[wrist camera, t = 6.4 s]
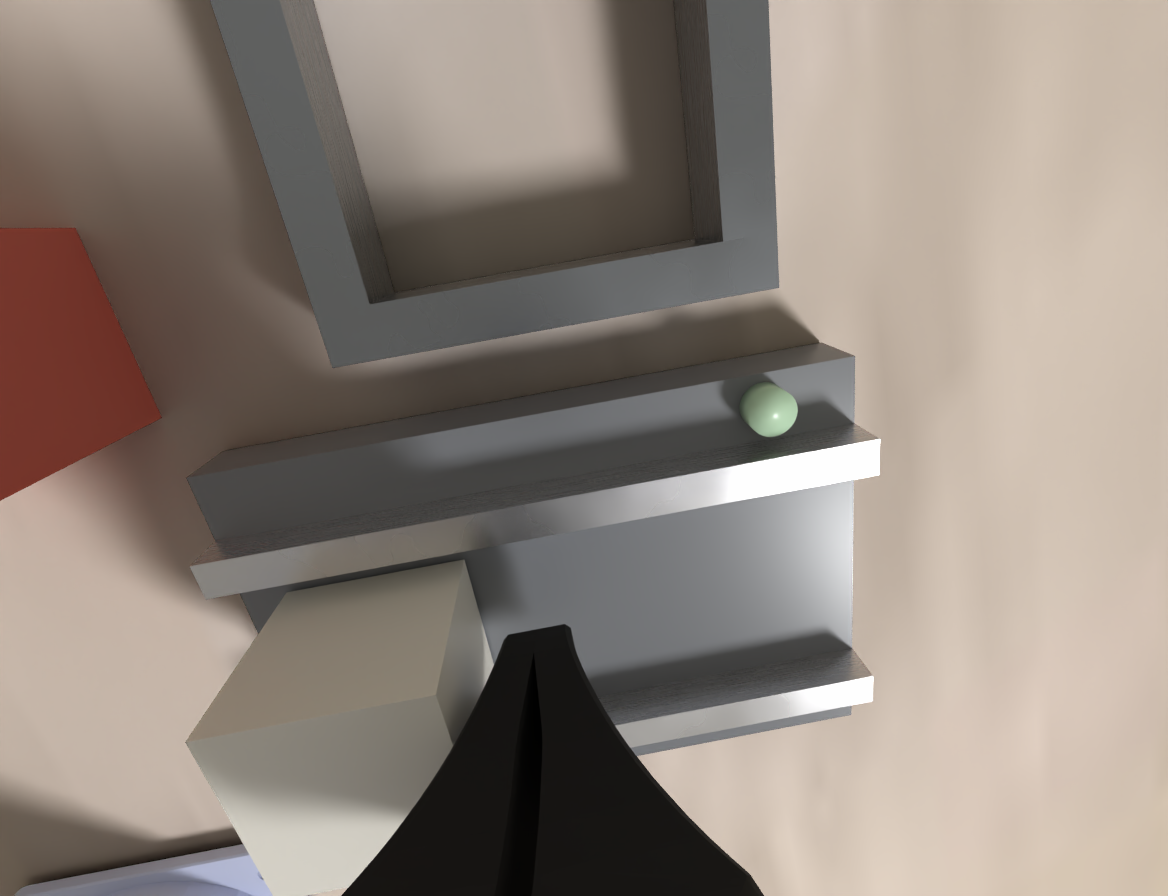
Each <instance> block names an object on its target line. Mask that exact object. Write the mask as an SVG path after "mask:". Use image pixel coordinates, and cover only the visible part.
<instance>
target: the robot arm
mask: <svg viewBox="0 0 1168 896" xmlns="http://www.w3.org/2000/svg"><path fill="white" fill-rule="evenodd" d="M14 896H273V895H272V893H271V892H270V890H269V888H268V886H267V885H266V883H265V881H264V879H263V878H262V876H261V874H260V872H259V871H258V869H257V867H256V865H255V864H254V862H253V860H252V858H251V857H250V855H249V853H248V851H247V850H246V848H245V846H244V844H241V845H235V846H230V847H225V848H220V849H215V850H209V851H204V852H199V853H194V854H189V855H183V856H178V857H173V858H168V859H163V860H157V861H152V862H147V863H142V864H137V865H131V866H126V867H121V868H116V869H111V870H105V871H100V872H95V873H90V874H85V875H79V876H74V877H69V878H64V879H59V880H53V881H48V882H43V883H38V884H33V885H28V886H25V887H22V888H20V889H19V890H18V891H17V892H16V894H15V895H14ZM342 896H764V895H763V893H762V892H761V890H760V889H759V887H758V886H757V884H756V883H755V881H754V880H753V878H752V877H751V875H750V874H749V873H748V872H747V871H746V870H745V869H743V868H742V867H741V866H740V865H739V864H738V863H737V862H735V861H734V860H733V859H732V858H731V857H730V856H729V855H728V854H726V853H725V852H724V851H723V850H722V849H721V848H720V847H719V846H718V845H717V844H716V843H715V842H714V841H712V840H711V839H710V838H709V837H708V836H707V835H706V834H705V833H704V832H703V831H702V830H701V829H700V828H699V827H698V826H697V825H696V824H695V823H694V822H693V821H692V820H691V819H690V818H689V817H688V816H687V815H686V814H685V812H684V811H683V810H682V809H681V808H680V807H679V806H678V805H677V804H676V802H675V801H674V800H673V799H672V798H671V797H670V796H669V795H668V794H667V792H666V791H665V790H664V789H663V788H662V787H661V786H660V785H659V784H658V782H657V781H656V780H655V779H654V778H653V777H652V775H651V774H650V773H649V771H648V770H647V769H646V768H645V766H644V765H643V764H642V763H641V761H640V760H639V759H638V758H637V756H636V755H635V753H634V752H633V751H632V749H631V748H630V747H629V745H628V744H627V743H626V741H625V740H624V738H623V737H622V735H621V734H620V732H619V731H618V729H617V728H616V726H615V725H614V723H613V722H612V720H611V719H610V717H609V715H608V714H607V712H606V711H605V709H604V707H603V706H602V704H601V702H600V700H599V699H598V697H597V695H596V693H595V691H594V689H593V687H592V685H591V684H590V682H589V680H588V678H587V676H586V674H585V672H584V669H583V667H582V665H581V662H580V660H579V658H578V655H577V652H576V650H575V645H574V640H573V635H572V631H571V627H569V626H567V625H566V624H562V625H556V626H551V627H546V628H541V629H535V630H530V631H525V632H519V633H514V634H509V635H507V637H506V638H505V639H504V641H503V643H502V646H501V649H500V651H499V654H498V656H497V659H496V661H495V664H494V666H493V668H492V671H491V673H490V675H489V677H488V680H487V682H486V684H485V686H484V688H483V690H482V692H481V694H480V696H479V699H478V701H477V703H476V705H475V707H474V709H473V711H472V713H471V715H470V717H469V719H468V720H467V722H466V724H465V726H464V728H463V729H462V731H461V733H460V735H459V736H458V738H457V740H456V742H455V744H454V745H453V747H452V749H451V751H450V752H449V754H448V756H447V757H446V759H445V761H444V762H443V764H442V765H441V767H440V769H439V770H438V772H437V773H436V775H435V777H434V778H433V780H432V781H431V783H430V784H429V786H428V787H427V788H426V790H425V791H424V793H423V794H422V796H421V797H420V799H419V800H418V802H417V803H416V804H415V806H414V807H413V808H412V810H411V811H410V812H409V814H408V815H407V817H406V818H405V819H404V821H403V822H402V823H401V825H400V826H399V827H398V829H397V830H396V831H395V833H394V834H393V835H392V837H391V838H390V839H389V840H388V842H387V843H386V844H385V845H384V847H383V848H382V849H381V850H380V852H379V853H378V854H377V855H376V856H375V858H374V859H373V860H372V861H371V862H370V863H369V864H368V866H367V867H366V868H365V869H364V870H363V871H362V873H361V874H360V875H359V876H358V877H357V878H356V879H355V881H354V882H353V883H352V884H351V885H350V886H349V888H348V889H347V890H346V891H345V892H344V893H343V894H342Z"/></svg>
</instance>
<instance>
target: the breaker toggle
mask: <svg viewBox="0 0 1168 896" xmlns="http://www.w3.org/2000/svg"><path fill="white" fill-rule="evenodd" d="M493 666H494V663H493V660H492V656H491V652H490V649H489V645H488V642H487V638H486V635H485V631H484V628H483V624H482V620H481V617H480V613H479V610H478V606H477V603H476V599H475V596H474V592H473V589H472V585H471V581H470V578H469V574H468V571H467V567H466V564H465V560H458V561H453V562H447V563H442V564H437V565H431V566H426V567H421V568H415V569H410V570H404V571H399V572H394V573H388V574H383V575H377V576H372V577H367V578H361V579H356V580H351V581H345V582H340V583H334V584H329V585H324V586H318V587H313V588H307V589H302V590H297V591H291V592H287V593H286V594H285V595H284V597H283V598H282V600H281V601H280V603H279V604H278V606H277V607H276V609H275V610H274V612H273V613H272V615H271V616H270V618H269V619H268V621H267V622H266V624H265V625H264V627H263V628H262V630H261V631H260V633H259V634H258V635H257V637H256V638H255V640H254V641H253V643H252V644H251V646H250V647H249V649H248V650H247V652H246V653H245V655H244V656H243V658H242V659H241V661H240V662H239V664H238V665H237V667H236V668H235V670H234V671H233V673H232V674H231V675H230V677H229V678H228V680H227V681H226V683H225V684H224V686H223V687H222V689H221V690H220V692H219V693H218V695H217V696H216V698H215V699H214V701H213V702H212V704H211V705H210V707H209V708H208V710H207V711H206V712H205V714H204V715H203V717H202V718H201V720H200V721H199V723H198V724H197V726H196V727H195V729H194V730H193V732H192V733H191V735H190V736H189V738H188V739H187V741H186V742H185V743H186V744H187V746H188V748H189V750H190V751H191V753H192V755H193V757H194V758H195V760H196V762H197V764H198V765H199V767H200V769H201V771H202V772H203V774H204V776H205V778H206V779H207V781H208V783H209V785H210V786H211V788H212V790H213V792H214V793H215V795H216V797H217V799H218V800H219V802H220V804H221V806H222V807H223V809H224V811H225V813H226V814H227V816H228V818H229V820H230V822H231V823H232V825H233V827H234V829H235V830H236V832H237V834H238V836H239V837H240V839H241V841H242V843H243V844H244V846H245V848H246V850H247V851H248V853H249V855H250V857H251V858H252V860H253V862H254V864H255V865H256V867H257V869H258V871H259V872H260V874H261V876H262V878H263V879H264V881H265V883H266V885H267V886H268V888H269V890H270V892H271V893H272V895H273V896H308V895H313V894H318V893H323V892H328V891H333V890H339V889H344V888H349V886H350V885H351V884H352V883H353V882H354V881H355V879H356V878H357V877H358V876H359V875H360V874H361V873H362V871H363V870H364V869H365V868H366V867H367V866H368V864H369V863H370V862H371V861H372V860H373V859H374V858H375V856H376V855H377V854H378V853H379V852H380V850H381V849H382V848H383V847H384V845H385V844H386V843H387V842H388V840H389V839H390V838H391V837H392V835H393V834H394V833H395V831H396V830H397V829H398V827H399V826H400V825H401V823H402V822H403V821H404V819H405V818H406V817H407V815H408V814H409V812H410V811H411V810H412V808H413V807H414V806H415V804H416V803H417V802H418V800H419V799H420V797H421V796H422V794H423V793H424V791H425V790H426V788H427V787H428V786H429V784H430V783H431V781H432V780H433V778H434V777H435V775H436V773H437V772H438V770H439V769H440V767H441V765H442V764H443V762H444V761H445V759H446V757H447V756H448V754H449V752H450V751H451V749H452V747H453V745H454V744H455V742H456V740H457V738H458V736H459V735H460V733H461V731H462V729H463V728H464V726H465V724H466V722H467V720H468V719H469V717H470V715H471V713H472V711H473V709H474V707H475V705H476V703H477V701H478V699H479V696H480V694H481V692H482V690H483V688H484V686H485V684H486V682H487V680H488V677H489V675H490V673H491V671H492V668H493Z"/></svg>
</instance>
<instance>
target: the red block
mask: <svg viewBox="0 0 1168 896" xmlns="http://www.w3.org/2000/svg"><path fill="white" fill-rule="evenodd" d="M160 418H162V417H161V415H160V413H159V410H158V408H157V406H156V404H155V402H154V399H153V397H152V395H151V393H150V391H149V388H148V386H147V384H146V382H145V380H144V378H143V375H142V373H141V371H140V369H139V367H138V364H137V362H136V360H135V358H134V356H133V353H132V351H131V349H130V347H129V345H128V342H127V340H126V338H125V336H124V334H123V332H122V329H121V327H120V325H119V323H118V321H117V318H116V316H115V314H114V312H113V310H112V307H111V305H110V303H109V301H108V299H107V296H106V294H105V292H104V290H103V288H102V285H101V283H100V281H99V279H98V277H97V275H96V272H95V270H94V268H93V266H92V264H91V261H90V259H89V257H88V255H87V253H86V250H85V248H84V246H83V244H82V242H81V239H80V237H79V235H78V233H77V231H76V229H75V228H0V500H2V499H4V498H6V497H8V496H10V495H12V494H14V493H16V492H18V491H20V490H22V489H24V488H26V487H28V486H30V485H32V484H34V483H36V482H38V481H39V480H41V479H43V478H45V477H47V476H49V475H51V474H53V473H55V472H57V471H59V470H61V469H63V468H65V467H67V466H69V465H71V464H73V463H75V462H77V461H79V460H80V459H82V458H84V457H86V456H88V455H90V454H92V453H94V452H96V451H98V450H100V449H102V448H104V447H106V446H108V445H110V444H112V443H114V442H116V441H118V440H120V439H121V438H123V437H125V436H127V435H129V434H131V433H133V432H135V431H137V430H139V429H141V428H143V427H145V426H147V425H149V424H151V423H153V422H155V421H157V420H159V419H160Z"/></svg>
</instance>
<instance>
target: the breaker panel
mask: <svg viewBox="0 0 1168 896" xmlns="http://www.w3.org/2000/svg"><path fill="white" fill-rule="evenodd" d="M854 405H855V356H853V355H851V354H849V353H846V352H844V351H841V350H839V349H836V348H834V347H831V346H829V345H826V344H824V343H817V344H811V345H806V346H800V347H794V348H789V349H783V350H778V351H772V352H767V353H761V354H756V355H750V356H745V357H739V358H734V359H728V360H723V361H717V362H712V363H706V364H701V365H695V366H690V367H684V368H679V369H673V370H668V371H662V372H657V373H651V374H646V375H640V376H635V377H629V378H624V379H618V380H613V381H607V382H602V383H596V384H591V385H585V386H580V387H574V388H569V389H563V390H558V391H552V392H547V393H541V394H536V395H530V396H525V397H519V398H514V399H508V400H503V401H497V402H492V403H486V404H480V405H475V406H469V407H464V408H458V409H453V410H447V411H442V412H436V413H431V414H425V415H420V416H414V417H409V418H403V419H398V420H392V421H387V422H381V423H376V424H370V425H365V426H359V427H354V428H348V429H343V430H337V431H332V432H326V433H321V434H315V435H310V436H304V437H299V438H293V439H288V440H282V441H277V442H271V443H266V444H260V445H255V446H249V447H244V448H238V449H233V450H227V451H223V452H221V453H220V454H219V455H217V456H216V457H214V458H213V459H212V460H210V461H209V462H208V463H206V464H205V465H203V466H202V467H201V468H199V469H198V470H197V471H195V472H194V473H192V474H191V475H190V476H188V477H187V480H188V483H189V485H190V487H191V489H192V491H193V493H194V496H195V498H196V500H197V502H198V504H199V506H200V509H201V511H202V513H203V515H204V517H205V519H206V522H207V524H208V526H209V528H210V530H211V532H212V535H213V537H214V539H215V542H214V543H213V544H212V545H211V546H210V547H209V548H208V549H207V550H206V551H205V552H204V553H203V554H202V555H201V556H200V557H199V558H197V559H196V560H195V561H194V562H193V563H192V564H191V565H190V566H189V567H190V569H191V571H192V573H193V575H194V577H195V579H196V581H197V583H198V585H199V587H200V589H201V591H202V593H203V595H204V597H205V599H212V598H217V597H223V596H228V595H233V594H239V593H240V595H241V597H242V599H243V602H244V604H245V606H246V608H247V610H248V612H249V615H250V617H251V619H252V621H253V623H254V625H255V628H256V630H257V632H258V634H259V633H260V631H261V630H262V628H263V627H264V625H265V624H266V622H267V621H268V619H269V618H270V616H271V615H272V613H273V612H274V610H275V609H276V607H277V606H278V604H279V603H280V601H281V600H282V598H283V597H284V595H285V594H286V593H287V592H291V591H297V590H302V589H307V588H313V587H318V586H324V585H329V584H334V583H340V582H345V581H351V580H356V579H361V578H367V577H372V576H377V575H383V574H388V573H394V572H399V571H404V570H410V569H415V568H421V567H426V566H431V565H437V564H442V563H447V562H453V561H458V560H465V564H466V567H467V571H468V574H469V578H470V581H471V585H472V589H473V592H474V596H475V599H476V603H477V606H478V610H479V613H480V617H481V620H482V624H483V628H484V631H485V635H486V638H487V642H488V645H489V649H490V652H491V656H492V660H493V663H494V664H495V661H496V659H497V656H498V654H499V651H500V649H501V646H502V643H503V641H504V639H505V638H506V637H507V635H509V634H514V633H519V632H525V631H530V630H535V629H541V628H546V627H551V626H556V625H562V624H566V625H567V626H569V627H571V631H572V635H573V640H574V645H575V650H576V652H577V655H578V658H579V660H580V662H581V665H582V667H583V669H584V672H585V674H586V676H587V678H588V680H589V682H590V684H591V685H592V687H593V689H594V691H595V693H596V695H597V697H598V699H599V700H600V702H601V704H602V706H603V707H604V709H605V711H606V712H607V714H608V715H609V717H610V719H611V720H612V722H613V723H614V725H615V726H616V728H617V729H618V731H619V732H620V734H621V735H622V737H623V738H624V740H625V741H626V743H627V744H628V745H629V747H630V748H631V749H632V751H633V752H634V753H635V755H636V756H639V755H644V754H650V753H655V752H660V751H665V750H670V749H676V748H681V747H686V746H691V745H696V744H702V743H707V742H712V741H717V740H723V739H728V738H733V737H738V736H743V735H749V734H754V733H759V732H764V731H769V730H775V729H780V728H785V727H790V726H795V725H801V724H806V723H811V722H816V721H822V720H827V719H832V718H837V717H842V716H848V715H851V705H856V704H861V703H866V702H872V701H873V675H872V674H871V673H870V671H869V670H868V669H867V667H866V666H865V665H864V663H863V662H862V661H861V659H860V658H859V657H858V655H857V654H856V653H855V651H854V650H853V649H852V597H853V501H854V479H859V478H864V477H870V476H875V475H879V454H880V439H879V438H877V437H876V436H874V435H872V434H871V433H869V432H868V431H866V430H864V429H863V428H861V427H860V426H858V425H856V424H855V423H854Z"/></svg>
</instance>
